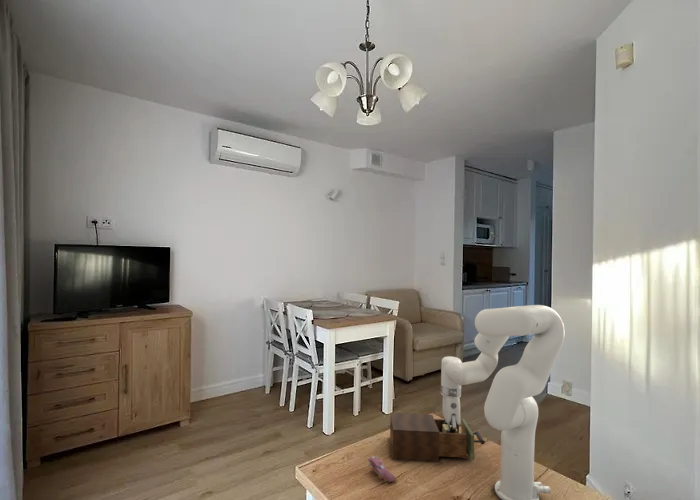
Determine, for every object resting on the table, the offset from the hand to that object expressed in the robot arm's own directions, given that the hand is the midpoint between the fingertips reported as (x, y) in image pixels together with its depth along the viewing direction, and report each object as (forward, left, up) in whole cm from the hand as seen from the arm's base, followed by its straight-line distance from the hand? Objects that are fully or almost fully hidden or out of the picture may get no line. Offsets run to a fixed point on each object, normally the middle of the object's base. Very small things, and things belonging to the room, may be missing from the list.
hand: (449, 438), depth 139 cm
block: (0, 0, 0) cm, 0 cm away
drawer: (-2, 0, -4) cm, 4 cm away
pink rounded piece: (+27, +18, -5) cm, 33 cm away
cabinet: (+14, 0, -5) cm, 15 cm away
